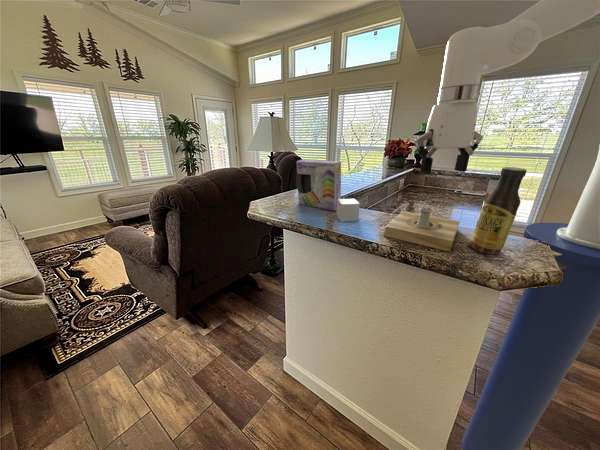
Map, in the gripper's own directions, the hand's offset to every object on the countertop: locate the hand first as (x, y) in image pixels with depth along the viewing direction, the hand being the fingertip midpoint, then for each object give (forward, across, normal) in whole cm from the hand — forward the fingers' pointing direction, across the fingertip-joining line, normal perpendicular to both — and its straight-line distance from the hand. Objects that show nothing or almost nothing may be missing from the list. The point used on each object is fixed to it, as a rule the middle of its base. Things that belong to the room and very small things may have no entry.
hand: (442, 172), depth 60 cm
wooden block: (+18, +2, -1) cm, 18 cm away
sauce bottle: (+18, -7, +11) cm, 22 cm away
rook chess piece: (+18, +2, -1) cm, 18 cm away
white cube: (+17, +19, -17) cm, 31 cm away
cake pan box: (+17, +26, -32) cm, 45 cm away
